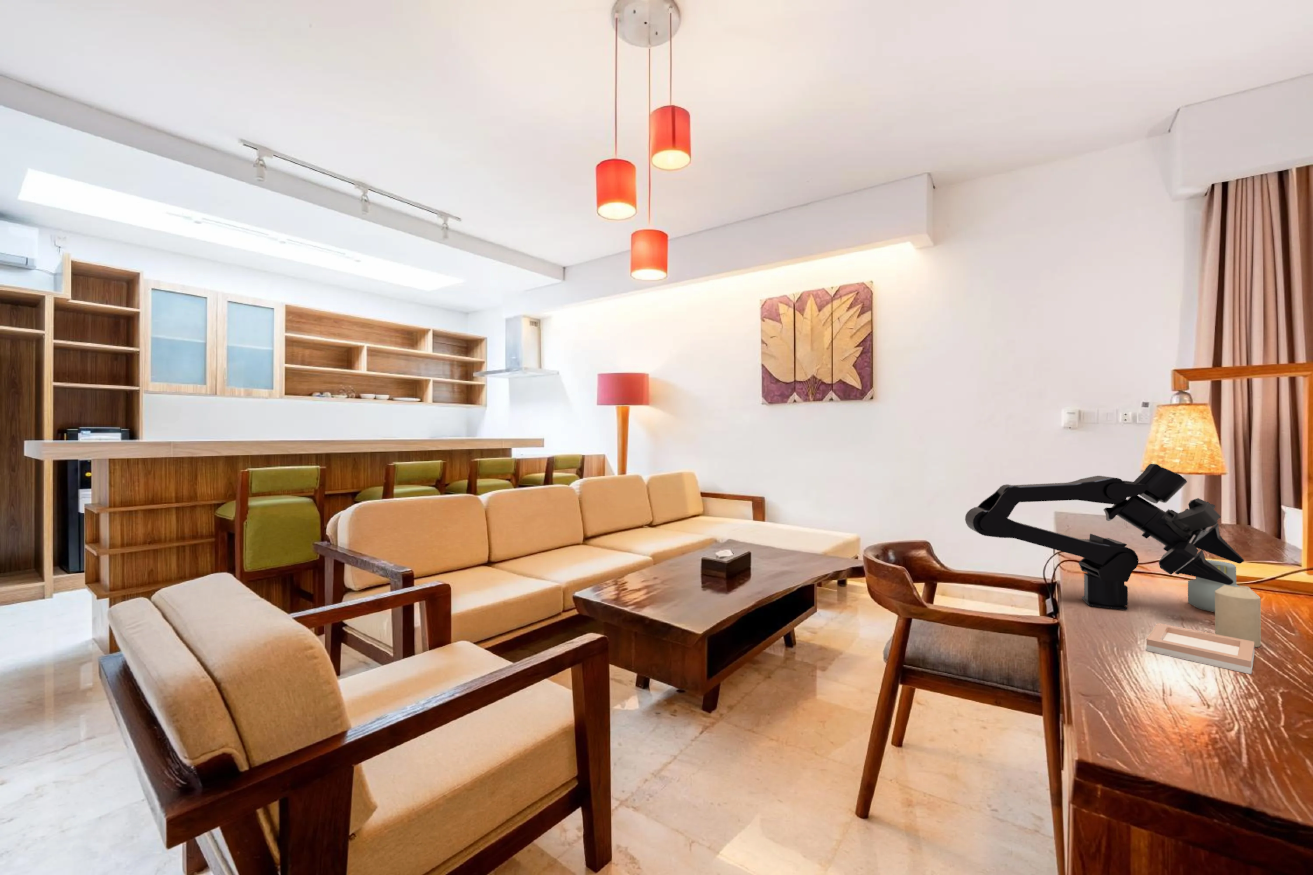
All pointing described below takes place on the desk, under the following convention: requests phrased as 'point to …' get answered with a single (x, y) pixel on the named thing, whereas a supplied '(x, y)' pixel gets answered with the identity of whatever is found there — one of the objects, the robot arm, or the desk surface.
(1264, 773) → the desk surface
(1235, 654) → the tray
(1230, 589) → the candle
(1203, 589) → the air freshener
